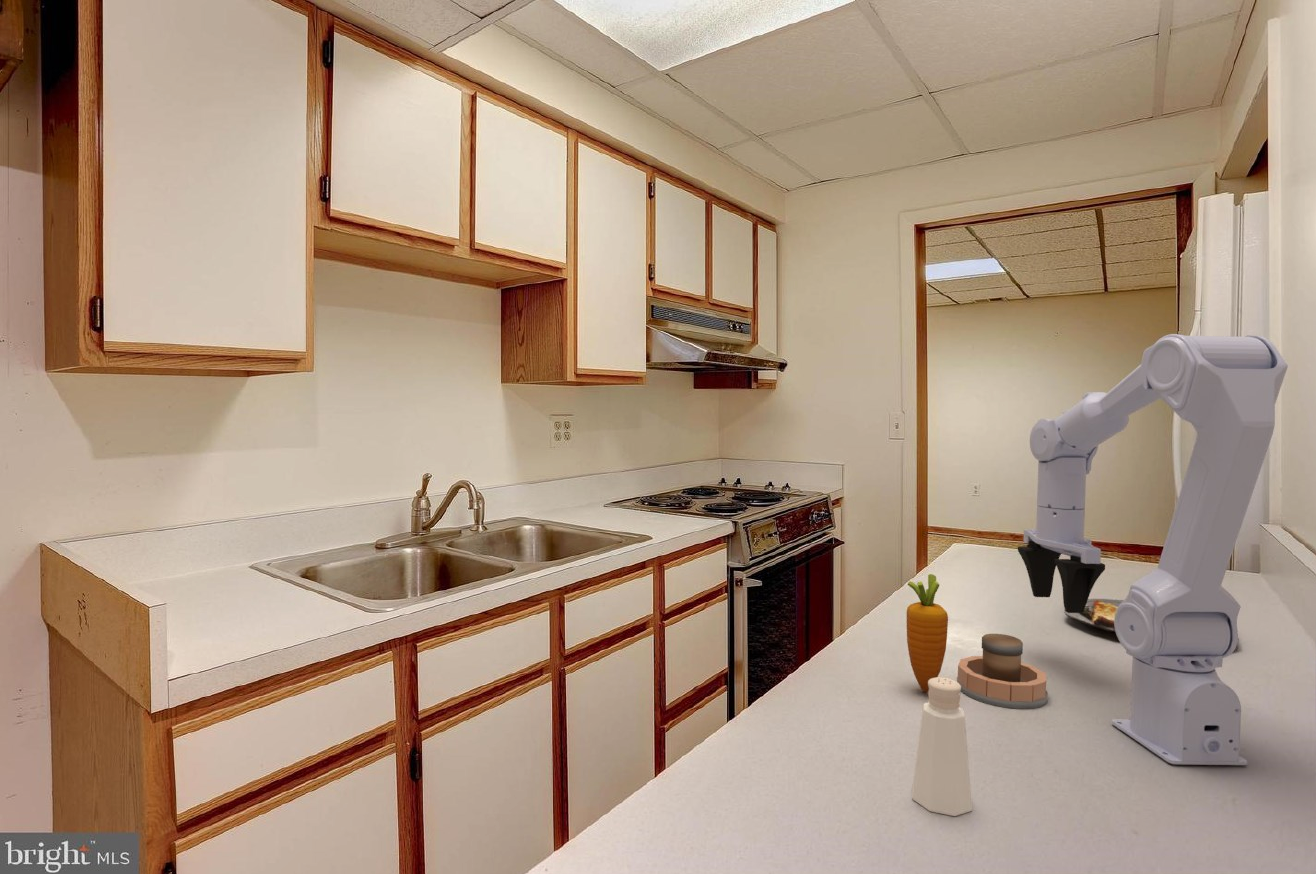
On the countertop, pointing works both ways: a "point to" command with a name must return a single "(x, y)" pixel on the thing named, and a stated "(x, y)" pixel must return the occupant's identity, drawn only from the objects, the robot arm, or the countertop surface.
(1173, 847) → the countertop surface
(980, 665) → the coaster
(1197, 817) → the countertop surface
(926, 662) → the carrot
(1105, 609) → the food plate
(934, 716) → the salt shaker
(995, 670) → the walnut pepper mill
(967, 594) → the countertop surface
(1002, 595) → the countertop surface
